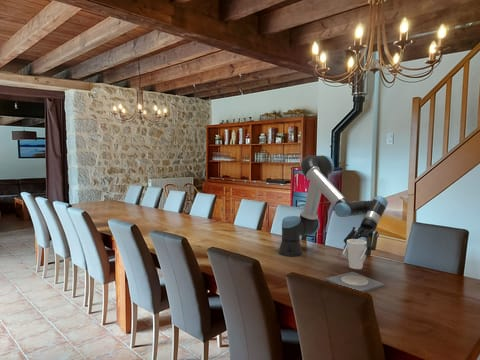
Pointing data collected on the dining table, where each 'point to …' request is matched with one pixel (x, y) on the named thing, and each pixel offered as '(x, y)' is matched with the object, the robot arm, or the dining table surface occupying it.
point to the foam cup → (355, 252)
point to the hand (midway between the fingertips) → (352, 257)
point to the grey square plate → (355, 281)
